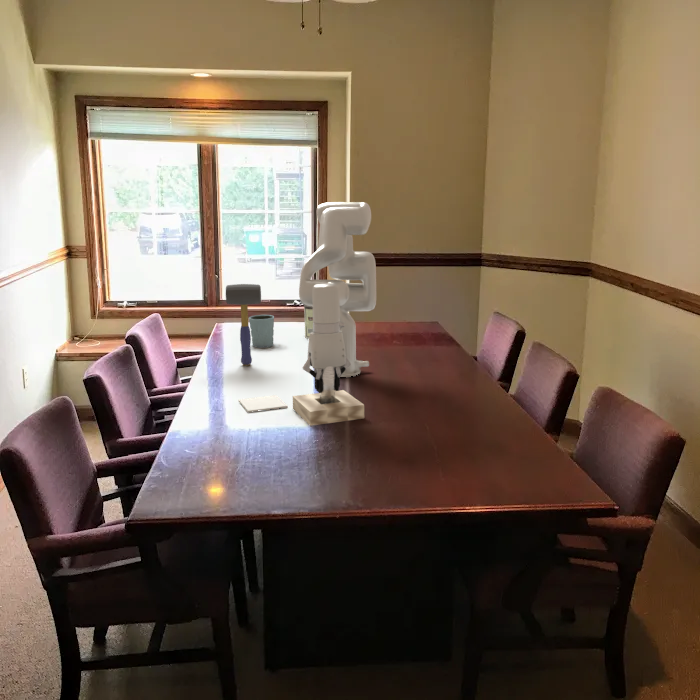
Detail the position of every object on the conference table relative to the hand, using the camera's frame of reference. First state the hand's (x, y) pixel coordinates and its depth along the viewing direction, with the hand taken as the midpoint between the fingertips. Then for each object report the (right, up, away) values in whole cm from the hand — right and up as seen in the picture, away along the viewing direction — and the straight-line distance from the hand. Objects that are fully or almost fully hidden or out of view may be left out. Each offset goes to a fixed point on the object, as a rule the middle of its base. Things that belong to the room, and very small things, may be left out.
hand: (327, 390), depth 201 cm
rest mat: (-20, -5, +11) cm, 23 cm away
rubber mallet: (-32, +6, +58) cm, 66 cm away
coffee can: (-8, +17, +106) cm, 107 cm away
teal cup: (-30, +13, +90) cm, 96 cm away
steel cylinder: (0, -4, +1) cm, 5 cm away
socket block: (0, -7, +2) cm, 7 cm away
